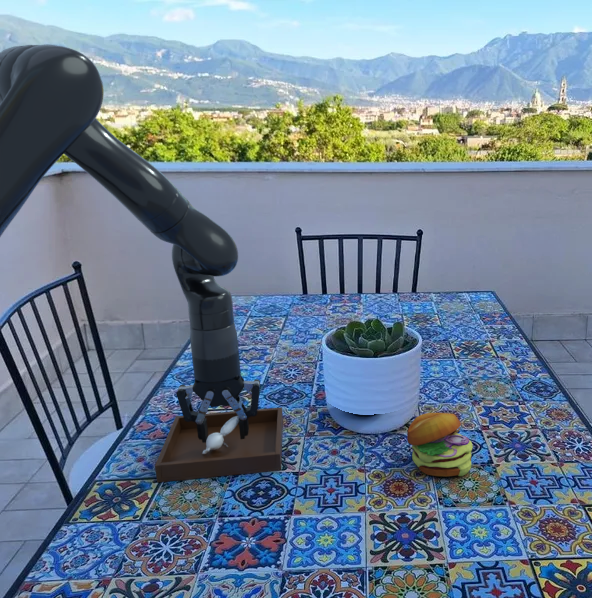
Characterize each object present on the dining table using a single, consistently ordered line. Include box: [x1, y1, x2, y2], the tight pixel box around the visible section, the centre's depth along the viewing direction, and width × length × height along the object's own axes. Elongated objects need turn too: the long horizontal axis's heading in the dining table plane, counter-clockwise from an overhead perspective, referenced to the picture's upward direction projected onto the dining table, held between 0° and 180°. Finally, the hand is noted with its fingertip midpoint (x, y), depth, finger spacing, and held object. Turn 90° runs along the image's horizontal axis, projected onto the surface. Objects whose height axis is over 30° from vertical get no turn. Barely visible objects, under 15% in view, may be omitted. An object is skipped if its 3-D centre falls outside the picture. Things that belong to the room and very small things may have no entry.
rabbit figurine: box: [202, 416, 240, 454], centre depth 98 cm, size 6×4×8 cm
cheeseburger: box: [406, 412, 474, 477], centre depth 94 cm, size 10×11×10 cm
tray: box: [154, 406, 284, 484], centre depth 99 cm, size 20×17×3 cm
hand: (224, 438), depth 99 cm, fingers closed on rabbit figurine, 5 cm apart
